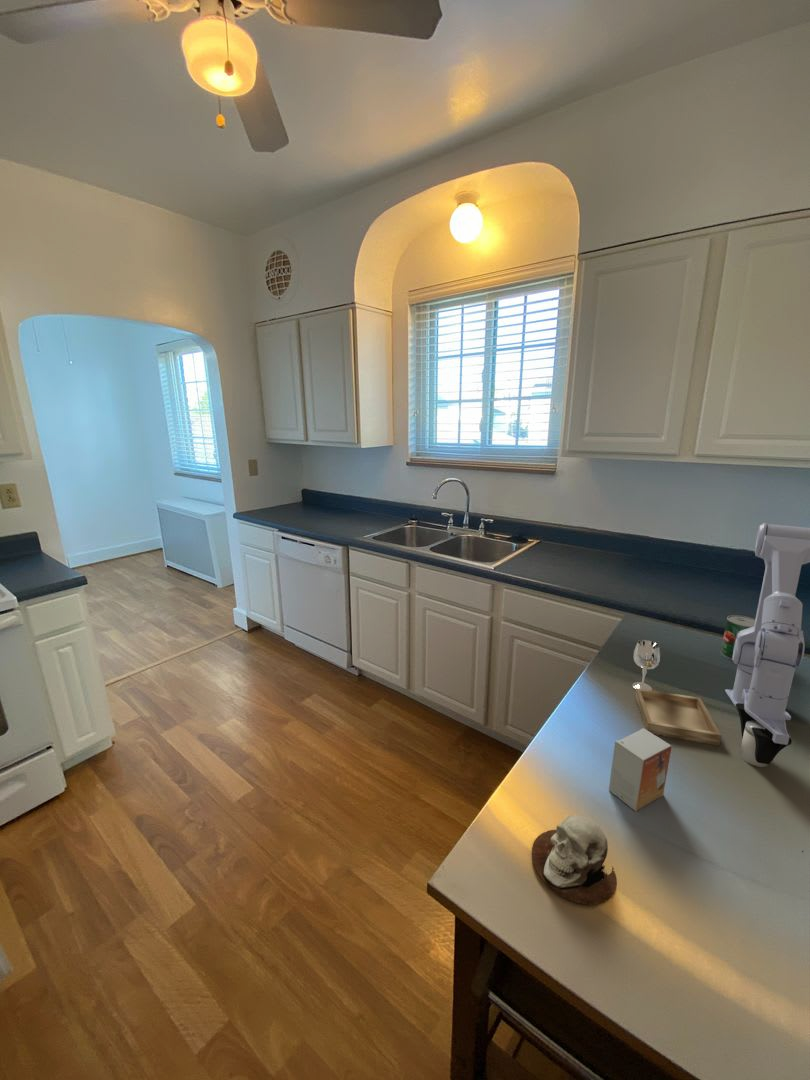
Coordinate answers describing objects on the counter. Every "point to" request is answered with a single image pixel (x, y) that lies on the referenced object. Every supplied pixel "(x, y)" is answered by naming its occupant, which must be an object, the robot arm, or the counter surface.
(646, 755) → the small box
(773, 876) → the counter surface
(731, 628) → the canned tomato
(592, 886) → the skull
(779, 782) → the counter surface
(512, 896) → the counter surface
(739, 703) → the robot arm
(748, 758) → the shaker
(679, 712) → the tray
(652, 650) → the wineglass
